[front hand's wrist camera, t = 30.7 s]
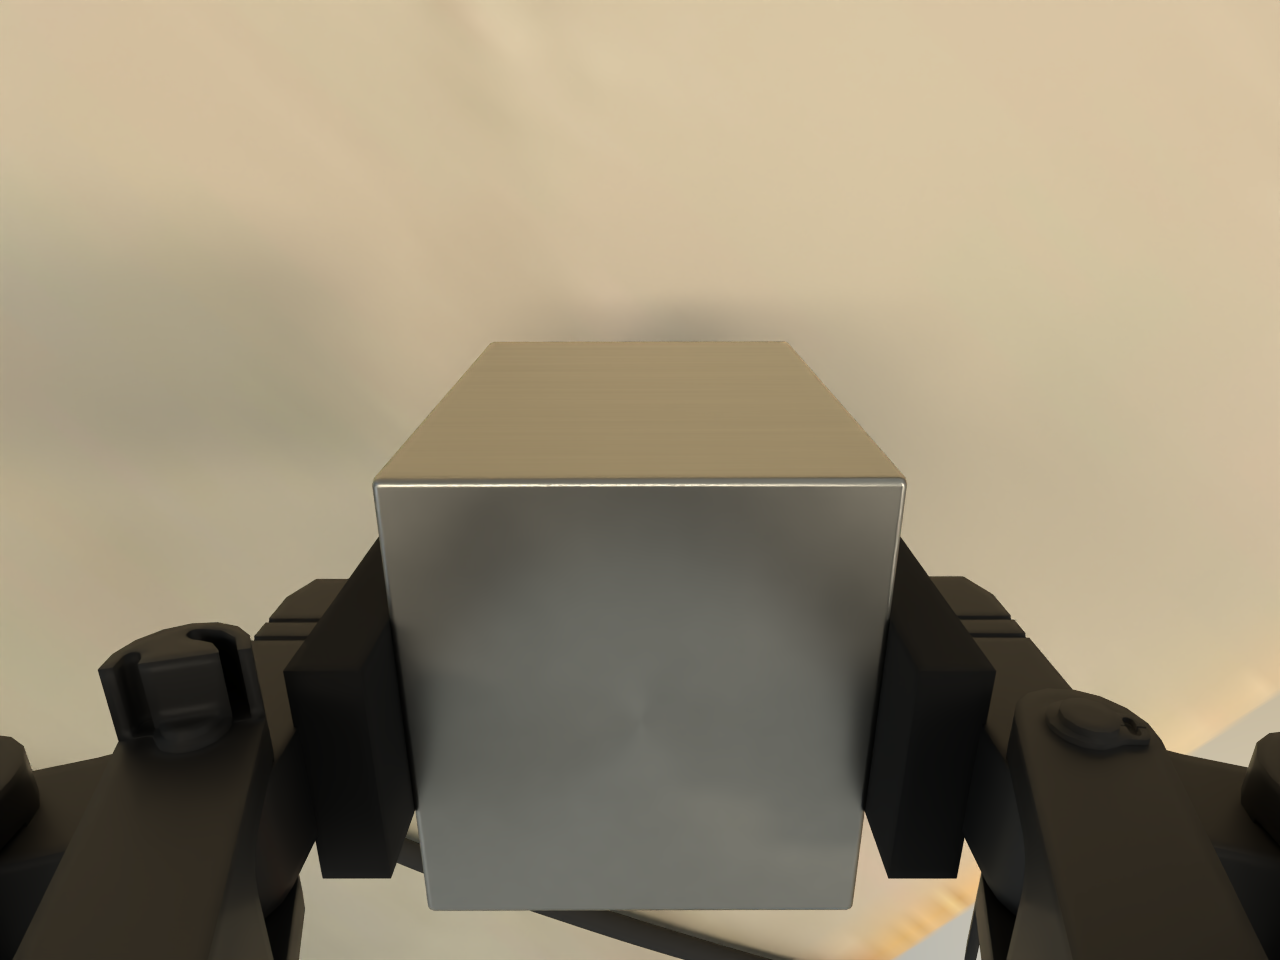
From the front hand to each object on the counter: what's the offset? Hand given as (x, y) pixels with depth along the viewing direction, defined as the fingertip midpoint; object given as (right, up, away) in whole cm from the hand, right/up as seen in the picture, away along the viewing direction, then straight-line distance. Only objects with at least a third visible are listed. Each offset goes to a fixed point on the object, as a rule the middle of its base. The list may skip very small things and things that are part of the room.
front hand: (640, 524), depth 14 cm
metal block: (0, +1, +1) cm, 2 cm away
